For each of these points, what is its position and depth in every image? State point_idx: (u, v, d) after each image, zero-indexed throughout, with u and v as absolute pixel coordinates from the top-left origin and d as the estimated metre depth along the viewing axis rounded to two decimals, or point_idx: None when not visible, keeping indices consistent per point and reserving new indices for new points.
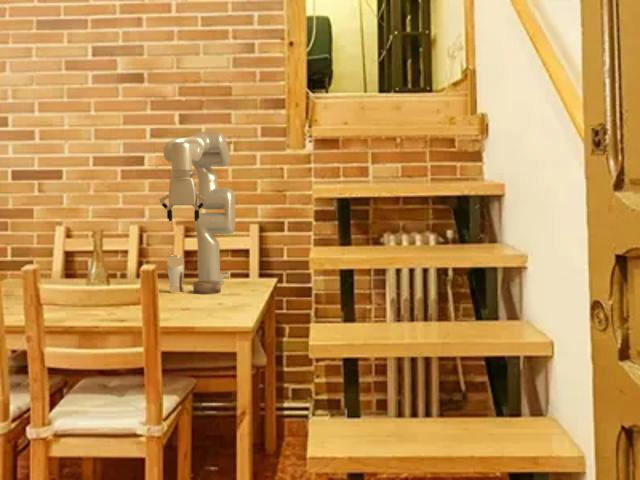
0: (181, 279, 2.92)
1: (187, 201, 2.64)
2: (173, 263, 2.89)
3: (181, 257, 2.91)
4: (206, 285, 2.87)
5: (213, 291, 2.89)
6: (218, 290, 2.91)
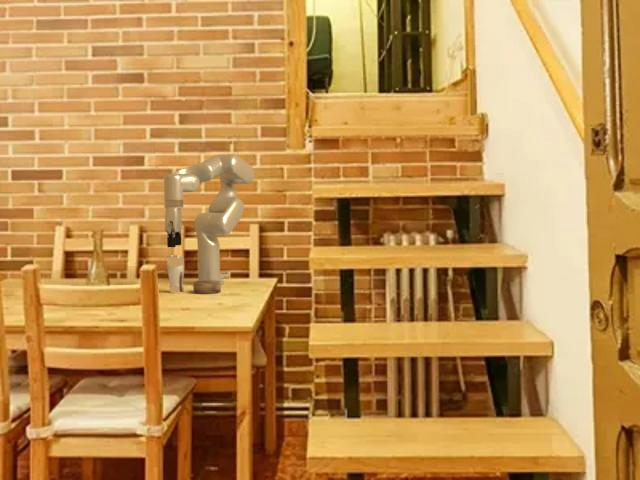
0: (181, 279, 2.92)
1: (180, 228, 2.93)
2: (173, 263, 2.89)
3: (181, 257, 2.91)
4: (206, 285, 2.87)
5: (213, 291, 2.89)
6: (218, 290, 2.91)
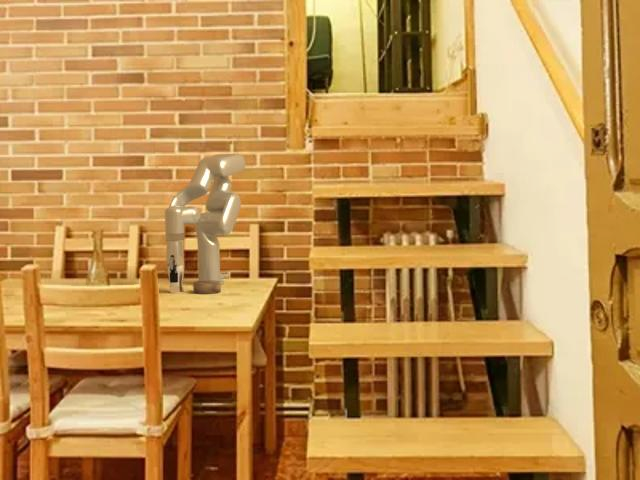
0: (181, 279, 2.92)
1: None
2: None
3: (181, 257, 2.91)
4: (206, 285, 2.87)
5: (213, 291, 2.89)
6: (218, 290, 2.91)
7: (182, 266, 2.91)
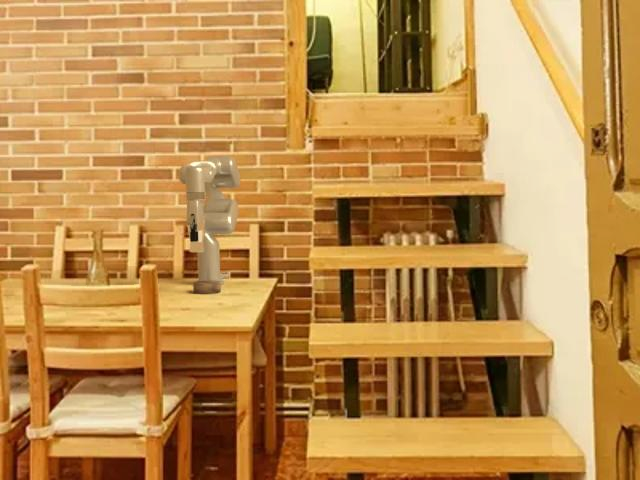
0: (201, 238, 2.90)
1: None
2: None
3: (201, 216, 2.89)
4: (206, 285, 2.87)
5: (213, 291, 2.89)
6: (218, 290, 2.91)
7: (202, 225, 2.89)
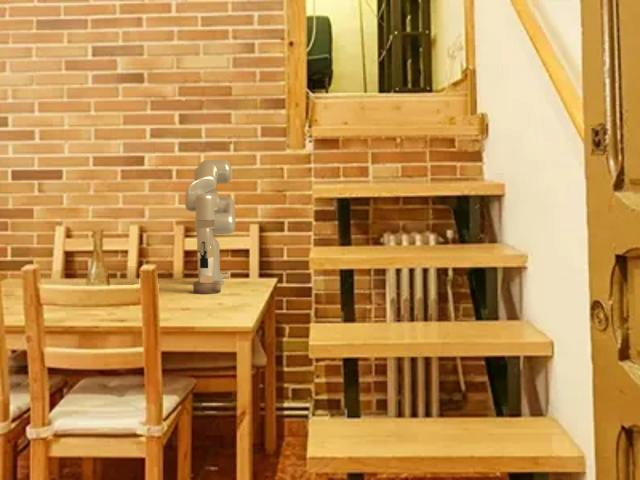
0: (211, 269, 2.91)
1: None
2: None
3: (212, 247, 2.89)
4: (206, 285, 2.87)
5: (213, 291, 2.89)
6: (218, 290, 2.91)
7: (213, 256, 2.90)
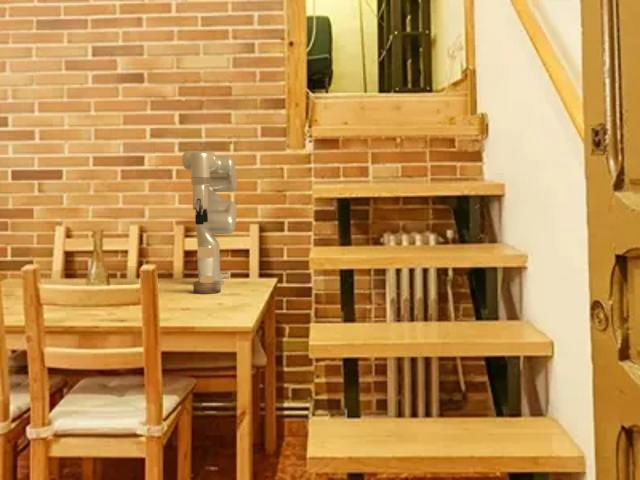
0: (211, 269, 2.91)
1: (207, 205, 2.95)
2: (204, 253, 2.88)
3: (211, 247, 2.89)
4: (206, 285, 2.87)
5: (213, 291, 2.89)
6: (218, 290, 2.91)
7: (212, 256, 2.90)
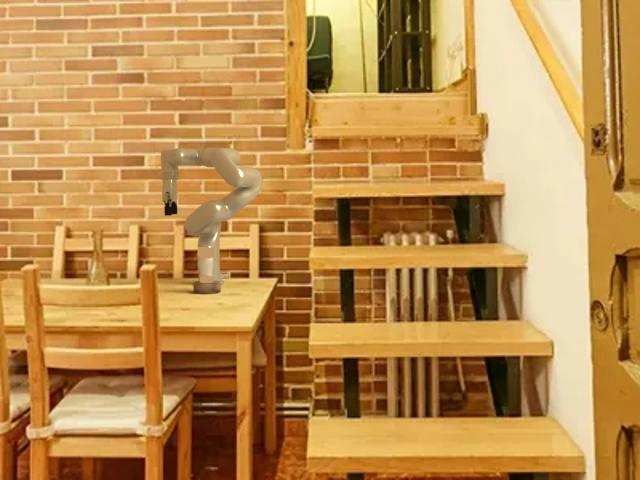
0: (211, 269, 2.91)
1: (176, 198, 3.22)
2: (204, 253, 2.88)
3: (212, 247, 2.89)
4: (206, 285, 2.87)
5: (213, 291, 2.89)
6: (218, 290, 2.91)
7: (213, 256, 2.90)
